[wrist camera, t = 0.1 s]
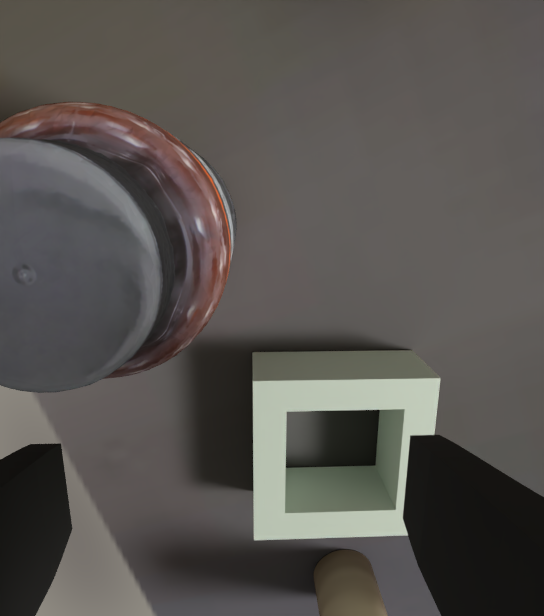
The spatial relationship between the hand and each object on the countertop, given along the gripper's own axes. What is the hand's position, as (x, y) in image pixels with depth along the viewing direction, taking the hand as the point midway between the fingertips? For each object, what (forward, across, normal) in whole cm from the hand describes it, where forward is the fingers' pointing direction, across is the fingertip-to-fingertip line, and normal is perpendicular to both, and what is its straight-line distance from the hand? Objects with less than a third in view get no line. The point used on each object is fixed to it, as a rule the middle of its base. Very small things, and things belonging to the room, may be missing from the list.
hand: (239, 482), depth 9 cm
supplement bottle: (+10, +3, -5) cm, 12 cm away
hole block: (+10, -4, +4) cm, 12 cm away
